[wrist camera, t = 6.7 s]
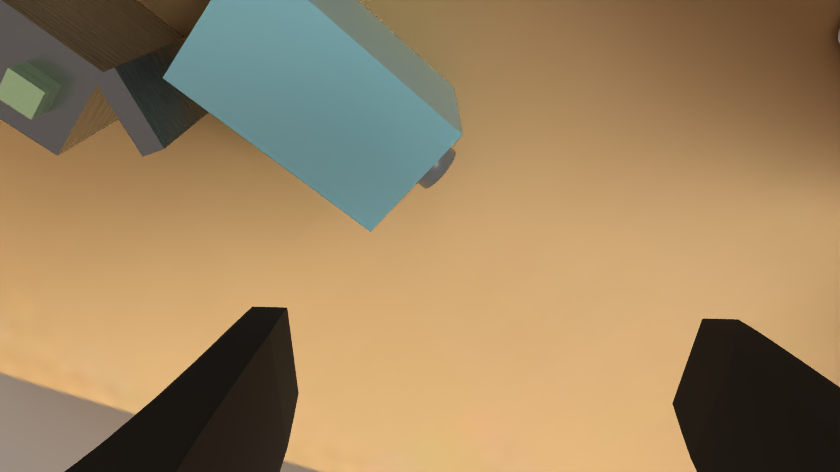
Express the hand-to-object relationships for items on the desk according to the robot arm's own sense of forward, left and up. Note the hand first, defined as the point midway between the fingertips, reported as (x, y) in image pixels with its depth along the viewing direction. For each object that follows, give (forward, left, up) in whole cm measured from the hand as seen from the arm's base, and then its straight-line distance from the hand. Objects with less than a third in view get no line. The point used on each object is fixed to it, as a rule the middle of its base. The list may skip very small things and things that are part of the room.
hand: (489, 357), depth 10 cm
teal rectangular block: (+5, 0, -9) cm, 11 cm away
